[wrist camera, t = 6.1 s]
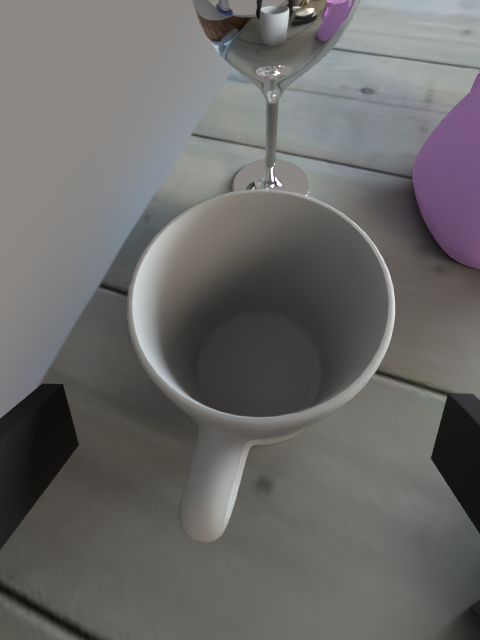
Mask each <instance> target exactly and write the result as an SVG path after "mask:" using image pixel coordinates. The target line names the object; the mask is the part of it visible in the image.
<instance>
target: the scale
mask: <svg viewBox="0 0 480 640" xmlns="http://www.w3.org/2000/svg"><path fill="white" fill-rule="evenodd" d="M470 609H471V611H472V613H473V614H474V616H475V618H476V619H477V621H478V623H479V624H480V601H478V602H477V603H475V604H474V605H472V606H471V607H470Z"/></svg>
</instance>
